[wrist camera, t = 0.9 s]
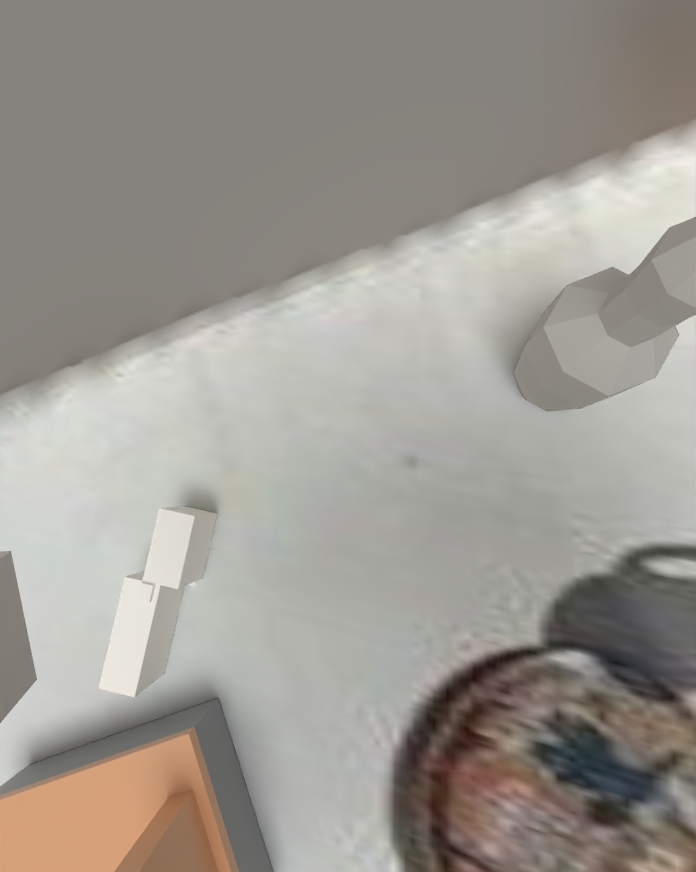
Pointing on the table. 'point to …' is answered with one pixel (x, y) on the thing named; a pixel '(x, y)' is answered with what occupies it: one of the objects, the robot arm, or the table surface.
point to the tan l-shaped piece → (120, 815)
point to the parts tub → (217, 758)
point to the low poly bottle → (611, 327)
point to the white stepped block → (156, 600)
